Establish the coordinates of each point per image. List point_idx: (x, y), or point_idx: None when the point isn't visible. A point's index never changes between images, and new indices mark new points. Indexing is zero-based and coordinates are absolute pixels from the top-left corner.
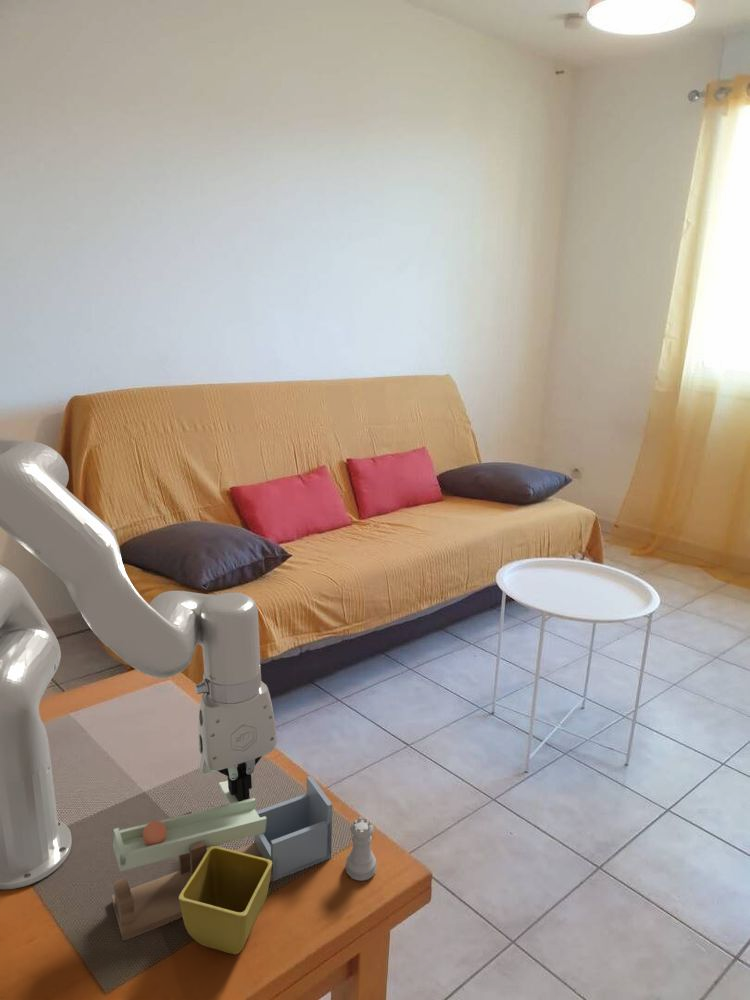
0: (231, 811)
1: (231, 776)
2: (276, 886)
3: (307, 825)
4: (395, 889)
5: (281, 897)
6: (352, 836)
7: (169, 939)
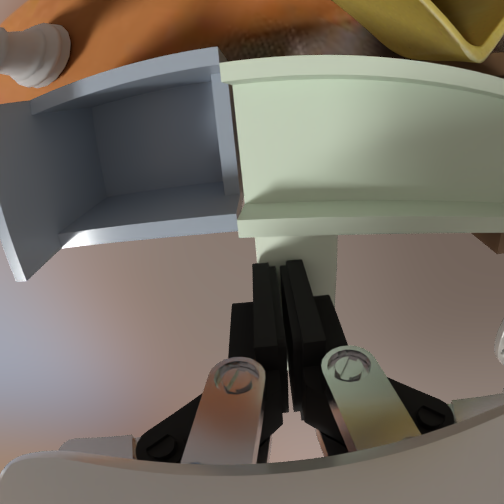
0: (362, 205)
1: (360, 367)
2: (228, 51)
3: (105, 199)
4: (21, 8)
5: (227, 19)
6: (3, 59)
7: None
